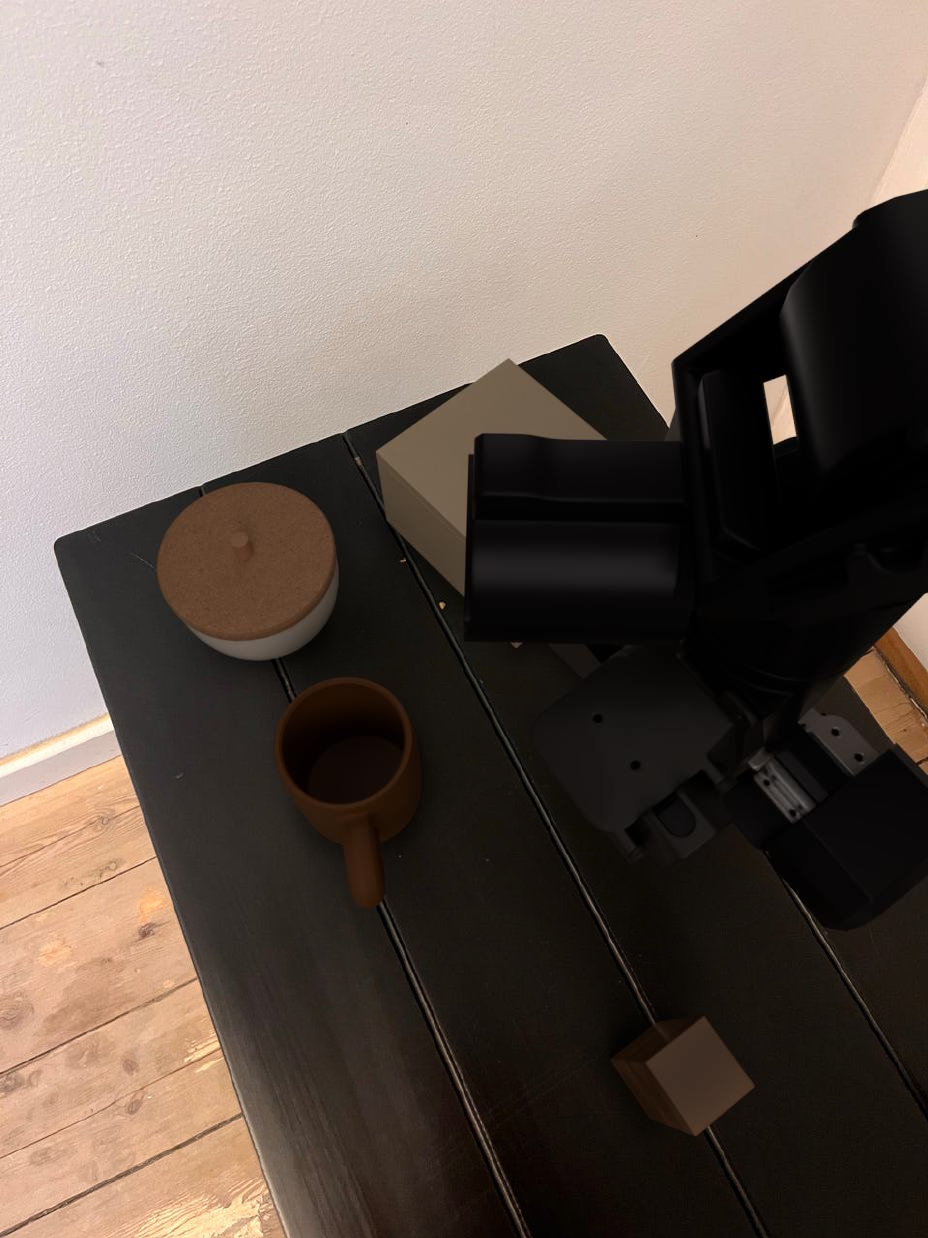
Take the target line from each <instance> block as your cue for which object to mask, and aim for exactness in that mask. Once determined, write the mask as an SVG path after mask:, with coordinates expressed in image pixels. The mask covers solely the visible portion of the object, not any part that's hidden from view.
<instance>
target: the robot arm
mask: <svg viewBox="0 0 928 1238" xmlns="http://www.w3.org/2000/svg"><path fill="white" fill-rule="evenodd" d="M670 368H671V369H670V370H671V378H672V388H673V398H674V412H673V414H672V418H671V420H670V424H669V427H668V430H667V433H666V436H665V439H664V440H636V439H635V440H634V439H633V440H632V439H630V440H629V439H607V440H577V439H552V438H547V437H541V436H535V435H530V434H509V433H482V434H480V435H478V436H477V437H475V438H474V454H468V483H467V517H466V552H465V587H464V596H463V642H464V643H498V644H499V643H501V644H502V643H503V644H504V643H505V644H507V643H508V644H511V643H522V644H546V643H549V644H585V646H586V647H587V648H588V649H589V650H590V652H591V653H592V654H593V655H594V656H595V658H596V659H597V660H598V661H599V662H600V664H601V665H599V666H598V667H597V668H596V669H595V670H593V671H592V672H591V673H590V674H588V675H587V676H586V677H585V678H583V679H582V678H581V680H580V681H578V682H577V683H576V684H574V686H572V687H571V688H570V689H569V690H567V691H566V692H564V693H563V694H562V695H561V696H560V697H558V698H557V699H556V700H555V701H554V702H552V703H551V704H550V705H548V706H547V707H546V708H545V709H544V710H543V711H541V712H540V713H539V714H538V715H537V716H536V718H535V719H534V721H533V722H532V725H531V727H530V735H529V739H530V744H531V746H532V749H533V751H534V752H535V754H536V755H537V757H538V758H539V760H541V762H542V763H543V765H544V766H545V767H546V769H547V770H548V771H549V772H550V774H551V775H552V776H553V778H554V779H555V781H556V782H557V783H558V784H559V786H560V787H561V788H562V790H563V791H564V792H565V793H566V795H567V796H568V797H569V799H570V800H571V802H572V803H573V804H574V805H575V806H576V808H577V809H578V811H579V812H580V813H581V814H582V816H583V817H584V818H585V820H586V821H587V822H588V823H589V824H590V825H591V826H592V827H593V828H595V829H597V830H599V831H601V832H604V833H605V834H606V835H607V837H608V838H609V839H610V841H611V842H612V844H614V846H615V848H617V849H618V851H619V852H620V854H621V855H622V856H623V858H624V859H626V862H627V863H628V865H629V866H630V867H633V866H635V865H636V864H638V863H639V862H640V861H641V860H643V859H644V858H646V857H647V856H650V857H652V858H654V860H656V862H657V863H658V865H659V866H660V867H661V869H663V871H664V872H667V873H670V872H673V871H674V870H676V869H677V868H678V867H680V866H681V865H682V864H683V863H685V862H686V861H687V860H688V859H690V858H691V857H692V856H694V855H695V854H696V853H697V852H699V851H700V850H701V849H703V848H704V847H705V846H706V845H708V844H709V843H710V842H712V841H713V840H715V839H716V838H717V837H718V836H719V835H720V834H722V833H723V832H724V831H726V830H727V829H728V828H729V827H732V825H733V824H734V826H735V827H737V829H738V831H740V833H741V834H742V835H743V836H744V837H745V839H746V840H747V841H748V842H749V843H750V844H751V845H752V847H753V848H755V849H756V850H758V851H760V852H764V853H767V855H768V857H769V860H770V862H771V865H772V867H773V869H774V870H775V871H776V873H777V874H778V875H779V876H780V877H781V879H783V881H784V882H785V883H786V884H787V886H788V887H789V888H790V889H791V890H792V892H793V893H794V894H795V895H796V896H797V898H798V899H799V900H800V901H801V903H802V904H803V905H804V906H805V907H806V908H807V910H808V911H809V912H810V913H811V915H812V916H813V917H814V918H815V919H816V921H818V923H819V924H820V925H821V926H822V928H825V929H830V930H835V931H841V932H850V931H853V930H855V929H856V930H857V929H859V928H862V927H865V926H866V925H868V924H870V923H871V922H873V921H874V920H875V919H877V918H879V917H880V916H882V915H883V914H884V913H885V912H887V911H888V910H889V909H890V908H892V907H893V906H894V905H896V903H898V901H900V900H901V899H902V898H904V896H905V895H907V894H908V893H909V892H910V891H911V890H913V889H914V888H915V887H916V886H917V885H918V884H920V883H921V882H922V881H923V880H924V879H925V878H927V877H928V774H927V773H926V771H925V770H924V769H923V768H922V767H921V766H920V765H919V764H918V763H917V762H916V761H915V760H914V759H913V758H912V757H911V756H910V755H909V754H908V753H907V752H906V750H904V749H903V747H902V746H901V745H900V744H899V743H897V742H894V743H893V744H892V745H891V746H890V747H888V748H887V749H885V750H884V751H882V753H878V751H877V750H876V749H875V748H874V747H873V746H872V745H871V744H870V743H869V742H868V741H867V740H866V739H865V738H864V737H863V736H862V734H860V732H859V731H858V730H857V729H856V728H855V727H854V726H853V725H852V724H851V723H850V722H849V721H848V720H847V719H845V718H844V717H842V716H839V715H835V714H828V715H827V714H826V713H825V712H821V713H819V712H818V711H817V710H816V709H815V708H814V706H815V705H816V704H818V702H819V701H820V700H821V699H822V698H823V697H824V696H826V694H827V693H828V692H829V691H830V690H831V689H832V688H834V687H835V685H836V684H837V683H838V682H839V681H840V680H841V679H842V678H843V677H844V676H845V675H846V674H847V673H848V672H849V671H850V670H851V669H852V668H853V667H854V666H855V665H856V664H857V663H858V662H859V661H860V660H861V659H862V658H863V657H864V656H865V655H866V654H867V653H868V652H869V651H870V650H871V649H872V648H873V647H874V646H875V645H876V644H877V643H878V642H879V641H880V640H881V639H882V638H883V637H884V636H885V634H887V633H888V632H889V631H890V630H891V629H892V628H893V627H894V626H895V625H896V624H897V623H898V622H899V620H901V619H902V618H903V617H904V616H905V615H906V614H907V612H908V611H910V610H911V609H912V608H913V607H914V605H915V604H917V602H919V601H920V600H921V599H922V598H923V597H924V596H925V595H926V594H928V188H925V189H922V190H921V189H920V190H917V191H914V192H913V191H912V192H910V193H905V194H902V195H901V194H900V195H898V196H897V195H896V196H893V197H891V198H890V199H887V200H885V201H883V202H880V203H878V204H876V205H874V206H871V207H869V208H866V209H865V210H863V211H861V212H859V214H857V215H856V217H855V218H854V220H853V221H852V225H851V229H850V230H849V231H847V232H846V233H844V234H843V235H842V236H841V237H840V238H838V239H837V240H835V241H834V242H833V243H831V244H830V245H828V246H827V247H826V248H824V249H823V250H821V251H820V252H819V253H818V254H816V255H814V256H813V257H812V258H811V259H809V260H808V261H806V262H805V263H804V264H802V265H801V266H799V267H798V268H797V269H796V270H794V271H792V272H791V273H790V274H789V275H787V276H786V277H784V278H783V279H782V280H780V281H779V282H777V283H776V284H775V285H774V286H772V287H771V288H770V289H768V290H766V291H765V292H764V293H762V294H761V295H760V296H758V297H757V298H755V299H754V300H753V301H752V302H749V304H748V305H746V306H745V307H743V308H742V309H740V310H739V311H737V312H736V313H735V314H734V315H732V316H731V317H729V318H728V319H726V320H724V322H722V323H721V324H719V325H718V326H717V327H715V328H714V329H713V330H712V331H710V332H709V333H707V334H706V335H704V336H703V337H702V338H700V339H699V340H697V342H694V343H693V344H692V345H690V346H689V347H688V348H686V349H685V350H684V351H683V352H681V353H680V354H678V355H677V356H676V357H674V358H673V360H672V361H671V363H670ZM784 376H785V381H786V386H787V393H788V397H789V403H790V409H791V415H792V420H793V426H794V433H795V436H790V437H787V438H785V439H782V440H781V441H778V442H776V443H774V439H773V431H772V426H771V419H770V413H769V407H768V401H767V395H766V394H767V393H766V389H765V383H769V382H771V381H773V380H775V379H778V378H779V379H780V378H781V377H784Z"/></svg>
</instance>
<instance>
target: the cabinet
mask: <svg viewBox="0 0 928 1238" xmlns="http://www.w3.org/2000/svg"><path fill="white" fill-rule="evenodd" d="M482 433H509V434H530V435H535V436H541V437H547V438H552V439H577V440H608V439H607V438H606V437H605V436H603V435H602V434H601V433H600V432H599V431H597V430H596V429H595V428H593V426H592V425H590V424H589V423H588V422H587V421H585V420H584V419H583V418H581V416H579V415H578V414H577V413H576V412H574V411H573V410H572V409H571V408H570V407H569V406H567V405H566V404H565V403H563V402H562V401H561V400H560V399H559V398H558V397H556V396H555V395H554V394H552V392H550V391H549V390H548V389H547V388H545V386H543V385H542V384H541V383H539V382H538V381H537V380H536V379H535V378H533V377H532V376H531V375H530V374H529V373H528V372H526V371H525V370H524V369H522V368H521V366H519V365H518V364H517V363H515V362H514V361H513V360H512V359H511V358H510V357H509V358H506V359H504V361H502V362H500V363H499V364H498V365H497V366H495V367H494V368H493V369H490V370H489V371H488V372H487V373H485V374H484V375H482V376H481V377H479V378H478V379H476V380H475V381H474V382H472V383H471V384H470V385H468V386H466V387H465V388H463V389H462V390H460V391H459V392H458V393H456V394H455V395H454V396H452V397H451V398H449V399H448V400H447V401H445V402H444V403H443V404H441V405H440V406H438V407H436V408H435V409H434V410H432V411H431V412H429V413H428V414H427V415H425V416H424V417H422V418H421V419H419V420H418V421H417V422H416V423H414V424H412V425H411V426H410V427H408V428H406V429H405V430H404V431H402V432H401V433H400V434H398V435H397V436H395V437H394V438H392V439H391V440H389V441H388V442H387V443H385V444H384V445H383V446H381V447H379V448H378V449H377V450H376V451H375V457H376V462H377V467H378V474H379V475H378V476H379V480H380V481H379V482H380V486H381V493H382V500H383V507H384V512H385V513H384V514H385V519H386V522H387V523H388V524H389V525H391V527H392V528H393V529H394V530H395V531H396V532H398V533H399V534H400V536H402V538H404V539H405V540H406V541H407V542H408V543H409V544H410V545H411V546H412V547H413V548H414V549H415V550H416V552H418V553H419V554H420V555H421V556H422V557H423V558H424V559H425V560H426V561H427V562H428V563H429V564H430V565H431V566H432V567H433V568H434V569H435V570H436V571H437V572H438V573H439V574H440V575H441V576H442V577H443V578H444V579H445V580H446V581H447V582H448V583H449V584H450V585H451V586H452V587H453V588H454V589H455V590H456V591H457V592H458V593H459V594H460V595H461V596H463V597H464V587H465V552H466V517H467V483H468V454H474V438H475V437H477V436H478V435H480V434H482ZM510 644H511V645H512V646H513V647H514V648H515V649H517V648H519V647H520V646H521V645H522V644H523V643H510Z"/></svg>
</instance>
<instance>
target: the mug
mask: <svg viewBox="0 0 928 1238" xmlns="http://www.w3.org/2000/svg"><path fill="white" fill-rule="evenodd" d="M274 732H275V733H274V737H273V746H272V747H273V758H274V764H275V767H276V770H277V773H278V775H279V777H280V781H281V784H282V785H283V787H284V789H285V792H286V793H287V795H289V797H290V798H291V800H292V801H293V803H294V804H295V806H296V807H297V808H298V810H299V812H301V814H302V815H303V817H304V818H305V819H306V820H307V822H308V824H310V825H311V827H313V829H314V830H315V831H316V832H318V833H319V834H320V835H322V836H323V837H324V838H326V839H327V840H329V841H331V842H333V843H335V844H339V845H342V846H343V848H342V849H343V856H344V857H343V858H344V864H345V871H346V876H347V877H346V878H347V882H348V887H349V891H350V894H351V897H352V899H353V901H354V902H355V904H356V905H357V906H358V907H361V908H363V909H373V908H375V907H378V906H379V905H380V904H381V903H382V902H383V901H384V898H385V896H386V876H385V867H384V859H383V853H382V845H381V844H382V843H383V842H386V841H388V840H389V839H392V838H393V837H395V836H396V835H397V834H399V833H400V832H401V831H402V830H403V829H404V828H405V827H406V826H407V825H408V824H409V822H410V821H411V820H412V818H413V816H414V815H415V814H416V812H417V809H418V807H419V805H420V802H421V798H422V793H423V772H422V771H423V770H422V765H421V756H420V755H421V754H420V750H419V744H418V740H417V735H416V731H415V727H414V725H413V722H412V721H411V719H410V716H409V714H408V712H407V710H406V708H405V706H404V705H403V703H401V701H400V699H398V697H397V696H396V695H395V694H394V693H393V692H392V691H390V690H388V689H387V688H386V687H384V686H383V685H381V684H380V683H377V682H375V681H373V680H370V679H367V678H363V677H355V676H340V677H334V678H333V677H332V678H329V679H325V680H321V681H320V682H317V683H315V684H314V685H313V684H312V686H309V687H308V688H306V689H305V690H304V691H302V692H301V693H299V694H298V695H297V696H296V697H295V698H293V700H292V701H291V702H290V703H289V704H288V706H287V707H286V708H285V710H284V712H283V713H282V714H281V717H280V718H279V720H278V723H277V726H276V728H275V731H274Z"/></svg>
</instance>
